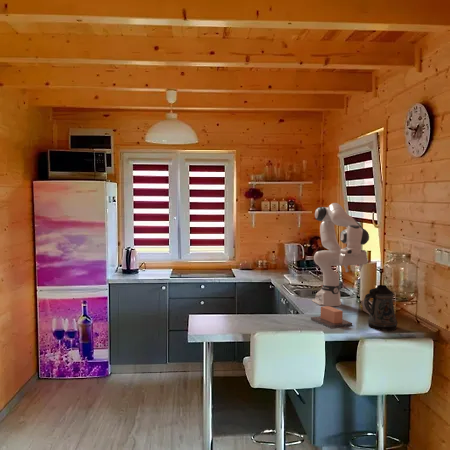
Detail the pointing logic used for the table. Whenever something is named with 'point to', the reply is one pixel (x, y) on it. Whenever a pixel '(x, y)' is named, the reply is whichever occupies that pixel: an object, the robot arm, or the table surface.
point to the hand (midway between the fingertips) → (353, 271)
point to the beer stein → (381, 309)
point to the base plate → (330, 324)
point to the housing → (331, 314)
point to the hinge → (364, 306)
